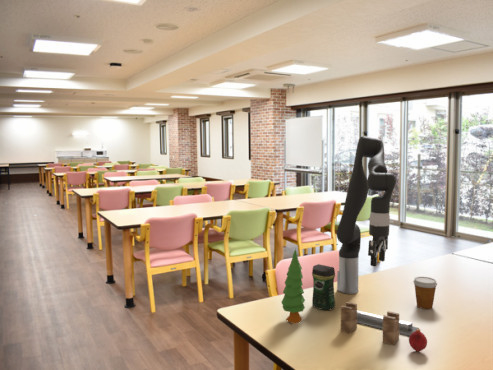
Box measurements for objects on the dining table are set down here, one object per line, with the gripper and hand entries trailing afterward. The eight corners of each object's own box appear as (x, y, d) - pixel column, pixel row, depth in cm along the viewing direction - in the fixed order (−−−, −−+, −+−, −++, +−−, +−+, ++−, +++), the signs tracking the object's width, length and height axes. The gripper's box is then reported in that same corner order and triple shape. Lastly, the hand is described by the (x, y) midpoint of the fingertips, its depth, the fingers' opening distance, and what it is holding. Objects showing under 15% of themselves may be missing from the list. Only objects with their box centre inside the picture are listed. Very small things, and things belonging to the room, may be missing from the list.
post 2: (382, 342, 147) (382, 316, 147) (387, 335, 152) (388, 310, 151) (393, 345, 145) (394, 318, 144) (399, 338, 150) (399, 313, 149)
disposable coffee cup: (439, 311, 174) (439, 283, 173) (415, 310, 176) (415, 282, 175) (433, 303, 183) (434, 276, 182) (410, 301, 185) (411, 275, 184)
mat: (341, 319, 167) (341, 318, 167) (349, 312, 174) (349, 311, 174) (413, 337, 151) (413, 335, 151) (419, 329, 157) (419, 328, 157)
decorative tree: (301, 326, 161) (301, 251, 158) (278, 323, 164) (277, 250, 162) (306, 317, 170) (306, 246, 168) (284, 314, 173) (283, 244, 171)
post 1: (340, 330, 157) (340, 306, 156) (347, 325, 162) (347, 301, 161) (350, 333, 155) (350, 308, 154) (356, 327, 159) (357, 303, 159)
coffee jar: (338, 307, 180) (338, 265, 179) (328, 312, 175) (328, 269, 173) (319, 301, 187) (319, 261, 185) (309, 306, 181) (309, 265, 180)
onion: (425, 357, 136) (425, 334, 136) (407, 353, 139) (407, 330, 139) (428, 350, 141) (428, 327, 140) (410, 346, 144) (410, 324, 144)
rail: (349, 316, 168) (349, 310, 168) (351, 314, 171) (351, 308, 170) (410, 331, 154) (410, 324, 154) (412, 329, 156) (412, 322, 156)
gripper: (377, 219, 170) (375, 257, 171) (362, 224, 158) (361, 265, 160) (395, 222, 165) (393, 261, 167) (382, 227, 154) (380, 269, 156)
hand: (377, 263), depth 163 cm, fingers open, 8 cm apart
